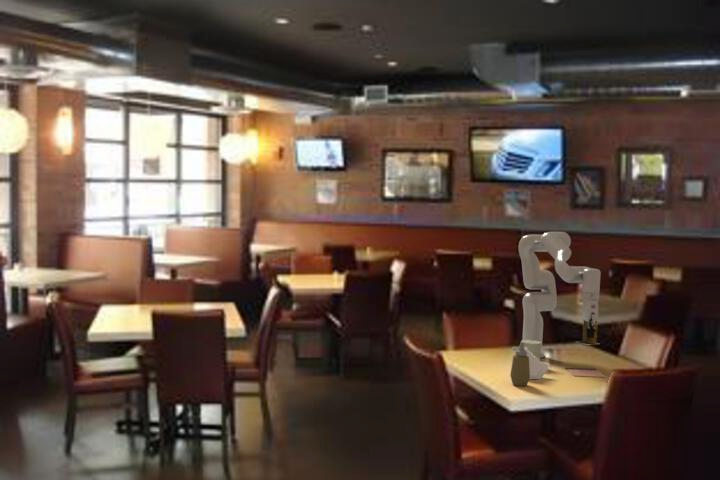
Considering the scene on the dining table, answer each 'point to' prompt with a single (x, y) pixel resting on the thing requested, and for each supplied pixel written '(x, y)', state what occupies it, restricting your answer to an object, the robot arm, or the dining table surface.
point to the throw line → (580, 368)
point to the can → (533, 347)
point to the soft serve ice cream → (535, 366)
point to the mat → (585, 373)
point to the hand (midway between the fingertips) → (588, 335)
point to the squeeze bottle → (520, 367)
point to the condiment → (586, 339)
